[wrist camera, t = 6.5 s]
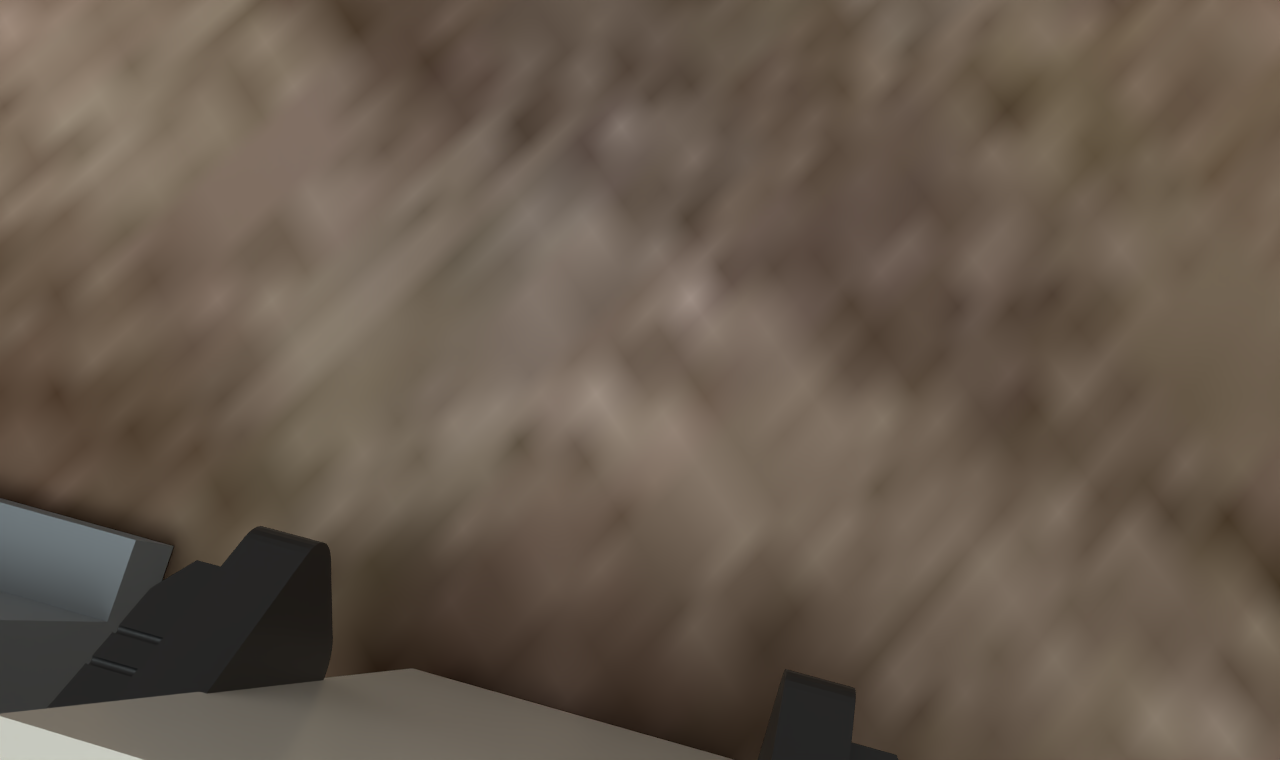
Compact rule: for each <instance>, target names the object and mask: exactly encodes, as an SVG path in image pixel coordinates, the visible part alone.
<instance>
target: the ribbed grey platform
mask: <svg viewBox="0 0 1280 760" xmlns="http://www.w3.org/2000/svg"><path fill="white" fill-rule="evenodd" d="M173 547H174V546H171V545H168V544H164V543H161V542H157V541H153V540H150V539H146V538H143V537H139V536H135V535H132V534H128V533H125V532H121V531H117V530H114V529H110V528H107V527H103V526H99V525H96V524H92V523H89V522H85V521H81V520H78V519H74V518H71V517H67V516H63V515H60V514H56V513H53V512H49V511H45V510H42V509H38V508H34V507H31V506H27V505H24V504H20V503H16V502H13V501H9V500H6V499H2V498H0V714H1V713H10V712H19V711H28V710H37V709H46V708H47V707H48V706H49V705H50V704H51V703H52V701H53V700H54V699H55V698H56V697H57V696H58V694H59V693H60V692H61V691H62V690H63V689H64V688H65V686H66V685H67V684H68V683H69V682H70V681H71V679H72V678H73V677H74V676H75V675H76V674H77V673H78V671H79V670H80V669H81V668H82V667H83V666H84V664H85V663H86V664H89V663H90V662H91V660H92V655H93V654H94V653H95V652H96V651H97V649H98V648H99V647H100V646H101V645H102V644H103V642H104V641H105V640H106V639H107V638H108V637H109V636H110V634H111V633H112V632H113V633H116V632H117V630H118V627H119V624H120V623H121V622H122V621H123V619H124V618H125V617H126V616H127V615H128V614H129V612H130V611H131V610H132V609H133V608H134V607H135V606H136V604H137V603H138V602H139V601H140V600H141V599H142V597H143V596H144V595H145V594H146V593H147V592H148V591H149V589H150V588H151V587H153V586H155V585H156V584H158V583H160V582H161V581H162V579H163V576H164V573H165V570H166V567H167V564H168V561H169V558H170V555H171V552H172V549H173Z"/></svg>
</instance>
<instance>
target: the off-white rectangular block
mask: <svg viewBox="0 0 1280 760" xmlns="http://www.w3.org/2000/svg"><path fill="white" fill-rule="evenodd" d="M0 760H733V759H730V758H726V757H723V756H719V755H716V754H712V753H709V752H705V751H702V750H698V749H695V748H691V747H688V746H684V745H681V744H677V743H673V742H670V741H666V740H663V739H659V738H656V737H652V736H649V735H645V734H642V733H638V732H635V731H631V730H628V729H624V728H621V727H617V726H614V725H610V724H607V723H603V722H600V721H596V720H593V719H589V718H586V717H582V716H578V715H575V714H571V713H568V712H564V711H561V710H557V709H554V708H550V707H547V706H543V705H540V704H536V703H533V702H529V701H526V700H522V699H519V698H515V697H512V696H508V695H505V694H501V693H498V692H494V691H491V690H487V689H483V688H480V687H476V686H473V685H469V684H466V683H462V682H459V681H455V680H452V679H448V678H445V677H441V676H438V675H434V674H431V673H427V672H424V671H420V670H417V669H413V668H411V669H402V670H393V671H384V672H374V673H365V674H356V675H347V676H338V677H329V678H324V680H321V681H312V682H303V683H295V684H286V685H277V686H269V687H260V688H251V689H242V690H234V691H225V692H216V693H208V694H206V693H203V692H192V693H183V694H174V695H165V696H156V697H147V698H138V699H129V700H119V701H110V702H101V703H92V704H83V705H74V706H65V707H56V708H47V709H37V710H28V711H19V712H10V713H1V714H0Z"/></svg>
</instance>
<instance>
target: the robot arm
mask: <svg viewBox="0 0 1280 760" xmlns="http://www.w3.org/2000/svg"><path fill="white" fill-rule="evenodd" d="M332 639H333V636H332V592H331V556H330V550H329V547H328V545H327V544H325V543H322V542H319V541H315V540H311V539H308V538H304V537H300V536H296V535H293V534H289V533H285V532H282V531H278V530H274V529H271V528H267V527H263V526H259V527H256V528H254V529H253V530H251V531H250V532H249V533H248V534H247V535H246V536H245V537H244V539H243V540H242V541H241V542H240V544H239V545H238V546H237V547H236V549H235V550H234V551H233V552H232V554H231V555H230V556H229V557H228V558H227V560H226V561H225V562H224V563H223V565H222V566H221V567H219V566H216V565H212V564H209V563H205V562H201V561H198V560H197V561H195V562H193V563H192V564H190V565H188V566H187V567H185V568H183V569H182V570H180V571H178V572H176V573H175V574H173V575H171V576H170V577H168V578H166V579H165V580H163V581H161V582H160V583H158V584H156V585H155V586H153V587H151V588H150V589H149V591H148V592H147V593H146V594H145V595H144V596H143V597H142V599H141V600H140V601H139V602H138V603H137V604H136V606H135V607H134V608H133V609H132V610H131V611H130V612H129V614H128V615H127V616H126V617H125V618H124V619H123V621H122V622H121V623H120V624H119V627H118V630H117V632H116V633H113V632H112V633H111V634H110V636H109V637H108V638H107V639H106V640H105V641H104V642H103V644H102V645H101V646H100V647H99V648H98V649H97V651H96V652H95V653H94V654H93V655H92V660H91V662H90V663H89V664H86V663H85V664H84V666H83V667H82V668H81V669H80V670H79V671H78V673H77V674H76V675H75V676H74V677H73V678H72V679H71V681H70V682H69V683H68V684H67V685H66V686H65V688H64V689H63V690H62V691H61V692H60V693H59V694H58V696H57V697H56V698H55V699H54V700H53V701H52V703H51V704H50V705H49V706H48V707H47V708H56V707H65V706H74V705H83V704H92V703H101V702H110V701H119V700H129V699H138V698H147V697H156V696H165V695H174V694H183V693H192V692H203V693H206V694H208V693H216V692H225V691H234V690H242V689H251V688H260V687H269V686H277V685H286V684H295V683H303V682H312V681H321V680H324V677H325V674H326V671H327V668H328V664H329V660H330V656H331V651H332ZM855 699H856V692H855V688H853V687H850V686H846V685H842V684H838V683H835V682H831V681H827V680H824V679H820V678H816V677H813V676H809V675H805V674H802V673H798V672H794V671H790V670H787V669H785V671H784V673H783V676H782V679H781V683H780V686H779V689H778V693H777V696H776V700H775V703H774V706H773V710H772V713H771V717H770V720H769V723H768V727H767V730H766V734H765V737H764V740H763V744H762V747H761V751H760V754H759V757H758V760H898V758H897V755H894V754H891V753H887V752H884V751H880V750H876V749H873V748H869V747H866V746H862V745H858V744H855V743H851V740H852V730H853V720H854V710H855ZM47 708H46V709H47Z"/></svg>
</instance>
